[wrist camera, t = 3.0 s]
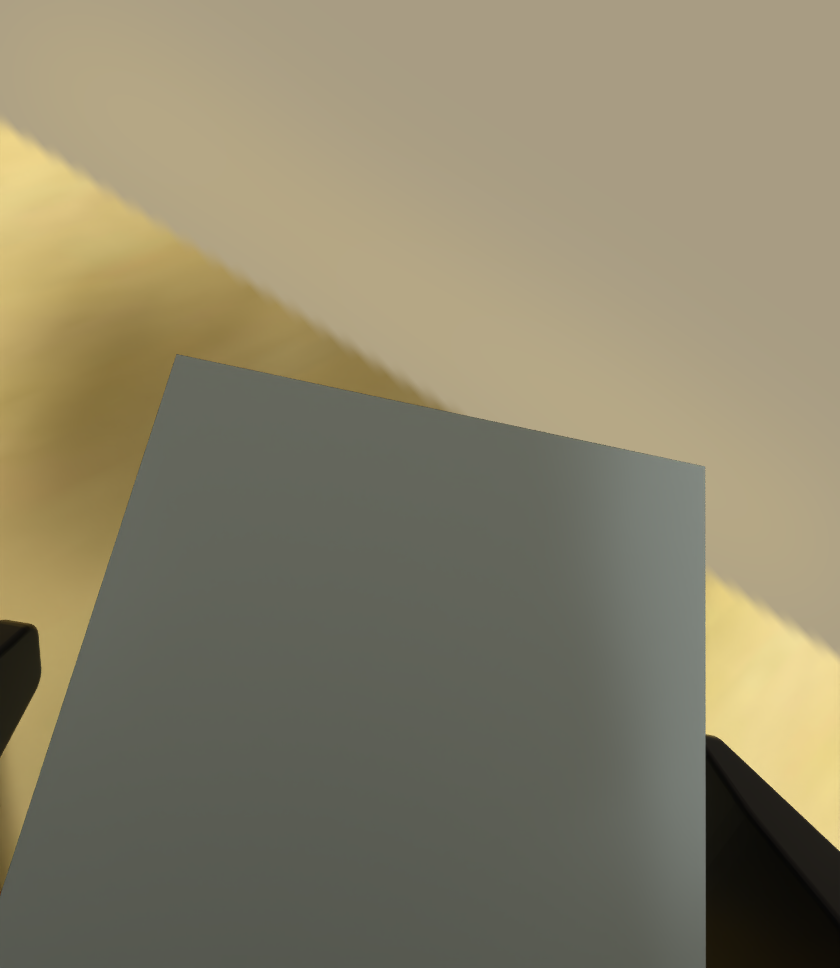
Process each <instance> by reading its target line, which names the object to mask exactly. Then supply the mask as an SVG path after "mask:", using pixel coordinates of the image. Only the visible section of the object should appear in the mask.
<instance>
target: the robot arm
mask: <svg viewBox="0 0 840 968" xmlns="http://www.w3.org/2000/svg"><path fill="white" fill-rule="evenodd" d="M40 677H41V659H40V647H39V635H38V630H37V628H36V627H35V626H34V625H32V624H29V623H23V622H17V621H10V620H0V757H1V755H2V753H3V751H4V749H5V748H6V746H7V744H8V742H9V740H10V738H11V736H12V734H13V732H14V731H15V729H16V727H17V725H18V723H19V721H20V719H21V717H22V715H23V714H24V712H25V710H26V708H27V706H28V704H29V702H30V700H31V699H32V697H33V695H34V693H35V691H36V689H37V687H38V684H39V681H40ZM705 775H706V968H840V851H839V850H838V849H837V848H836V847H834V846H833V845H832V844H831V843H830V842H829V841H828V840H827V839H826V838H825V837H824V836H823V835H822V834H821V833H820V832H818V831H817V830H816V829H815V828H814V827H813V826H812V825H811V824H810V823H809V822H808V821H807V820H806V819H805V818H804V817H803V816H801V815H800V814H799V813H798V812H797V811H796V810H795V809H794V808H793V807H792V806H791V805H790V804H789V803H788V802H787V801H786V800H784V799H783V798H782V797H781V796H780V795H779V794H778V793H777V792H776V791H775V790H774V789H773V788H772V787H771V786H770V785H769V784H767V783H766V782H765V781H764V780H763V779H762V778H761V777H760V776H759V775H758V774H757V773H756V772H755V771H754V770H753V769H751V768H750V767H749V766H748V765H747V764H746V763H745V762H744V761H743V760H742V759H741V758H740V757H739V756H738V755H737V754H736V753H734V752H733V751H732V750H731V749H730V748H729V747H728V746H727V745H726V744H725V743H724V742H723V741H722V740H720V739H719V738H717V737H715V736H712V735H706V734H705Z"/></svg>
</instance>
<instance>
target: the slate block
mask: <svg viewBox="0 0 840 968" xmlns="http://www.w3.org/2000/svg"><path fill="white" fill-rule="evenodd" d="M0 968H706V775H705V467H704V466H700V465H695V464H690V463H686V462H681V461H677V460H672V459H667V458H663V457H658V456H653V455H648V454H644V453H639V452H634V451H629V450H625V449H620V448H616V447H611V446H606V445H601V444H597V443H592V442H587V441H583V440H578V439H573V438H568V437H564V436H559V435H554V434H550V433H545V432H540V431H536V430H531V429H526V428H521V427H517V426H512V425H507V424H502V423H498V422H493V421H488V420H484V419H479V418H474V417H470V416H465V415H460V414H456V413H451V412H446V411H442V410H437V409H432V408H427V407H423V406H418V405H413V404H409V403H404V402H399V401H395V400H390V399H385V398H380V397H376V396H371V395H366V394H362V393H357V392H352V391H348V390H343V389H338V388H333V387H329V386H324V385H319V384H315V383H310V382H305V381H300V380H296V379H291V378H286V377H282V376H277V375H272V374H268V373H263V372H258V371H253V370H249V369H244V368H239V367H235V366H230V365H225V364H221V363H216V362H211V361H206V360H202V359H197V358H192V357H188V356H183V355H178V354H177V355H176V358H175V361H174V364H173V367H172V370H171V373H170V376H169V379H168V382H167V385H166V388H165V391H164V395H163V398H162V401H161V404H160V407H159V410H158V413H157V416H156V419H155V422H154V425H153V428H152V431H151V434H150V438H149V441H148V444H147V447H146V450H145V453H144V456H143V459H142V462H141V465H140V468H139V471H138V474H137V477H136V480H135V484H134V487H133V490H132V493H131V496H130V499H129V502H128V505H127V508H126V511H125V514H124V517H123V520H122V523H121V526H120V530H119V533H118V536H117V539H116V542H115V545H114V548H113V551H112V554H111V557H110V560H109V563H108V566H107V569H106V573H105V576H104V579H103V582H102V585H101V588H100V591H99V594H98V597H97V600H96V603H95V606H94V609H93V612H92V615H91V619H90V622H89V625H88V628H87V631H86V634H85V637H84V640H83V643H82V646H81V649H80V652H79V655H78V658H77V661H76V665H75V668H74V671H73V674H72V677H71V680H70V683H69V686H68V689H67V692H66V695H65V698H64V701H63V704H62V708H61V711H60V714H59V717H58V720H57V723H56V726H55V729H54V732H53V735H52V738H51V741H50V744H49V747H48V750H47V754H46V757H45V760H44V763H43V766H42V769H41V772H40V775H39V778H38V781H37V784H36V787H35V790H34V793H33V796H32V800H31V803H30V806H29V809H28V812H27V815H26V818H25V821H24V824H23V827H22V830H21V833H20V836H19V839H18V843H17V846H16V849H15V852H14V855H13V858H12V861H11V864H10V867H9V870H8V873H7V876H6V879H5V882H4V885H3V889H2V892H1V895H0Z"/></svg>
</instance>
